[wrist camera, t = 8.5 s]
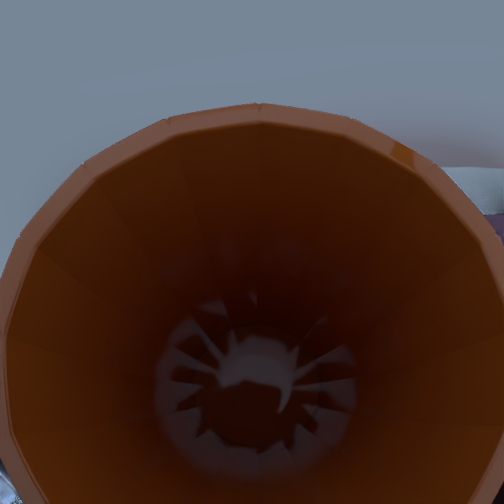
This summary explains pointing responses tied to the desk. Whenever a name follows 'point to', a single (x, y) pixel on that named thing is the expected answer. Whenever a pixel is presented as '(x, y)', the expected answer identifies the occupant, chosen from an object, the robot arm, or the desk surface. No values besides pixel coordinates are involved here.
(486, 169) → the desk surface
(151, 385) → the cup
